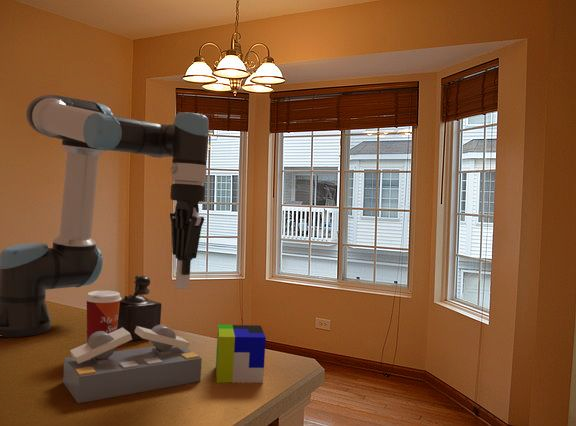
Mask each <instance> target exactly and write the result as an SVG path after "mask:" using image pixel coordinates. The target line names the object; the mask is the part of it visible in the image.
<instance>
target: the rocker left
mask: <svg viewBox="0 0 576 426" xmlns="http://www.w3.org/2000/svg"><path fill="white" fill-rule="evenodd" d="M130 340H132V337H131V334H130V333H129V332H128V331H127V330H125V329H124V328H123V327H122V328H120V329H118V330H116V331H113V332H111V333H109V334H108V333H106V332H104V331H97V332H95V333H93V334H92V335H91V336H90V337H89V339H88V341H87V340H86V342H85V343H83V344H81V345H80V346H77V347H75V348H73V349H70V351H69V352H70V354H71V357H73V358H74V359H75V361H76V362H77V363H78V364H79V363H82V362H84V361H86V360H88V359H90V358H93V357H96V358H98V359H106V358H108V357H110V356H111V355H112V354H113V353H114V352H115V351H116V348H117V347H119V346H121V345H124V344H126V343H128V342H129V341H130ZM130 342H131V341H130Z"/></svg>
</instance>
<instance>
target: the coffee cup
mask: <svg viewBox="0 0 576 426" xmlns="http://www.w3.org/2000/svg"><path fill="white" fill-rule="evenodd" d="M122 299H123V298H122V297H121V293H120V292H118V291H116V290H115V291H113V290H93V291H89V292H88V293H87V295H86V297H85V301H86V342H87V341H88V339H89V337H90V336H91V335H92V334H93V333H95V332H97V331H104V332H106V333H108V334H109V333H111V332H113V331H116V330H117V324H118V315H119V306H120V300H122Z"/></svg>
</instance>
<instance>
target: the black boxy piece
mask: <svg viewBox="0 0 576 426" xmlns="http://www.w3.org/2000/svg"><path fill="white" fill-rule="evenodd" d="M134 279H135V280H134V282H133V284H135V285H134V293H133V294H129V295H124V297H123V298H122V300H120V306H119V315H118V324H117V330H118V329H120V328H122V327H123V328H124V329H125V330H127V331H128V332H129V333H130V334H131V337H132V340H130V341H128V342H137V341H143V340H144V339H143V338H141V337H140V336H139V335H137V334H136V333H134V332H135V329H136V326H138V327H142V328H147V329H152V328H153V327H155V326H157V325H161V319H162V317H161V316H162V302H158V301H155V300H151V299H149V298H147V297H146V296H144V295H149V294H150V289H149V288H148V287H149V286H151V280H150V277H148V276H146V275H135V277H134Z"/></svg>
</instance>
